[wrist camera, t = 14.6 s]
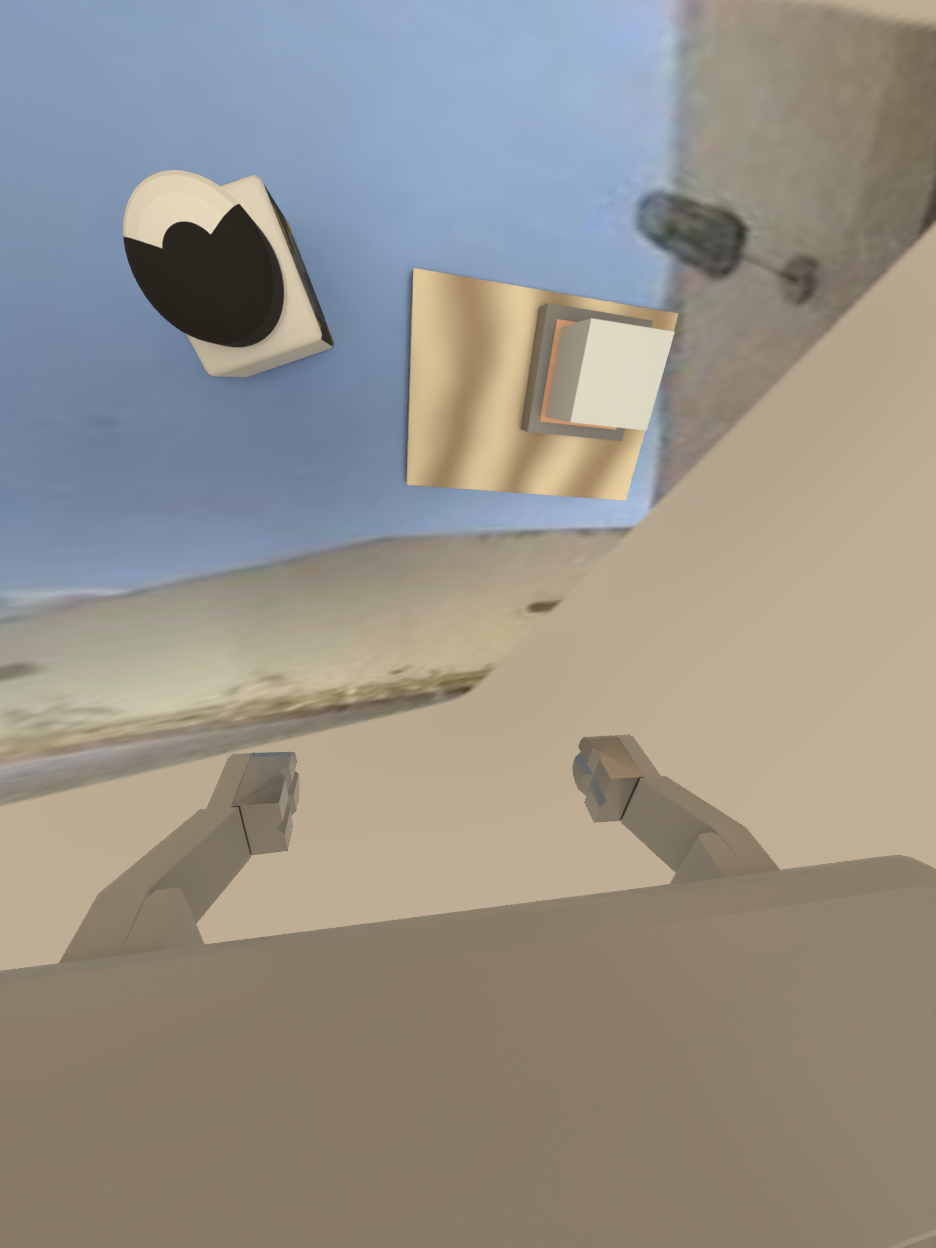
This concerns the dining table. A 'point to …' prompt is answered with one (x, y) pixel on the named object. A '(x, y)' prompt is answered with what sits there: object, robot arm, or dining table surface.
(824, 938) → the robot arm
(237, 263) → the medicine bottle
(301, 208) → the dining table surface
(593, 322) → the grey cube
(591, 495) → the board
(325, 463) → the dining table surface
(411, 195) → the dining table surface
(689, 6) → the dining table surface
